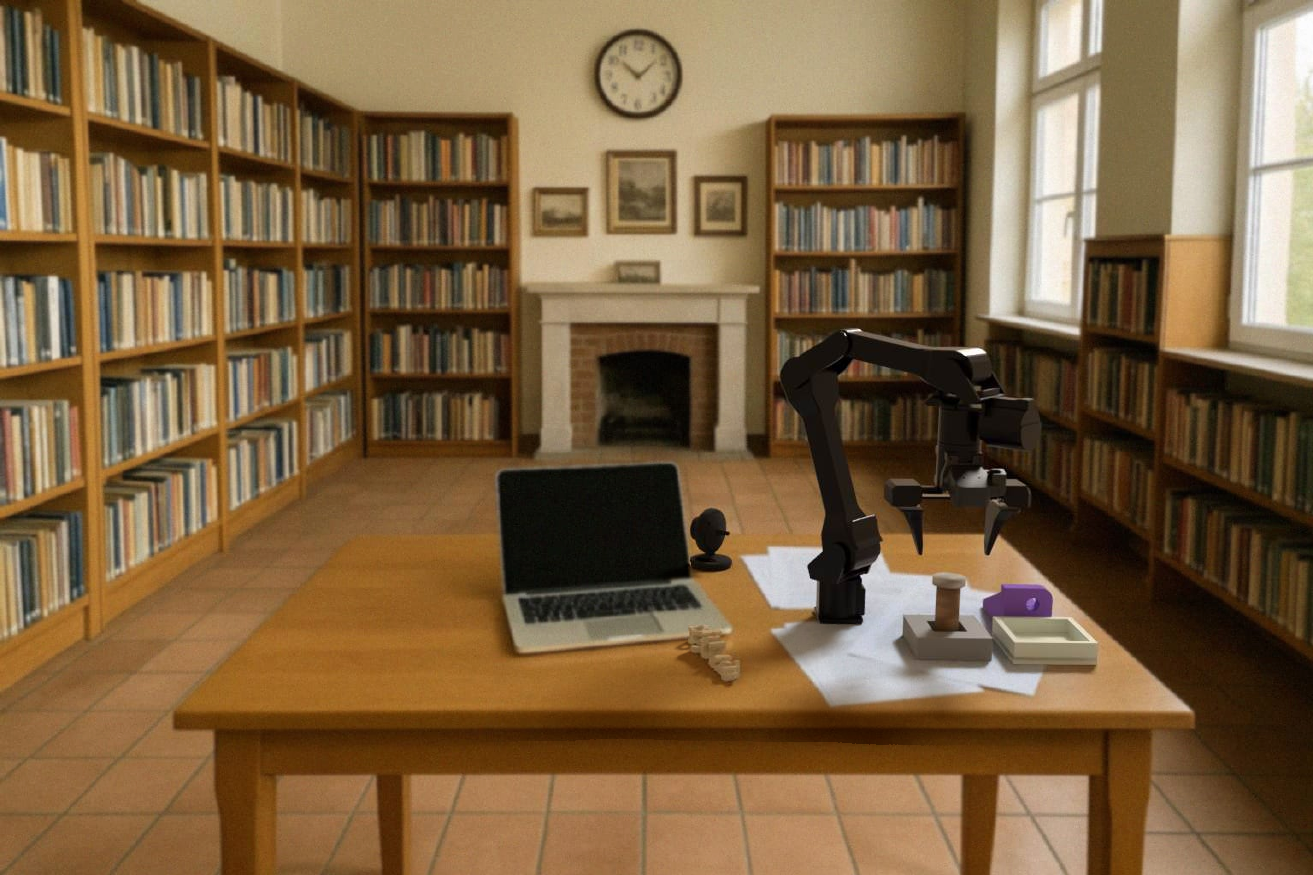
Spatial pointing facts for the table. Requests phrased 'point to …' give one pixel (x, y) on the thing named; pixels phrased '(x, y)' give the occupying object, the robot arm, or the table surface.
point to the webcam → (709, 540)
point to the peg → (947, 601)
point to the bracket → (1020, 601)
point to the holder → (947, 639)
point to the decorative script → (713, 651)
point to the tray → (1044, 640)
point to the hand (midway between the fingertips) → (953, 554)
